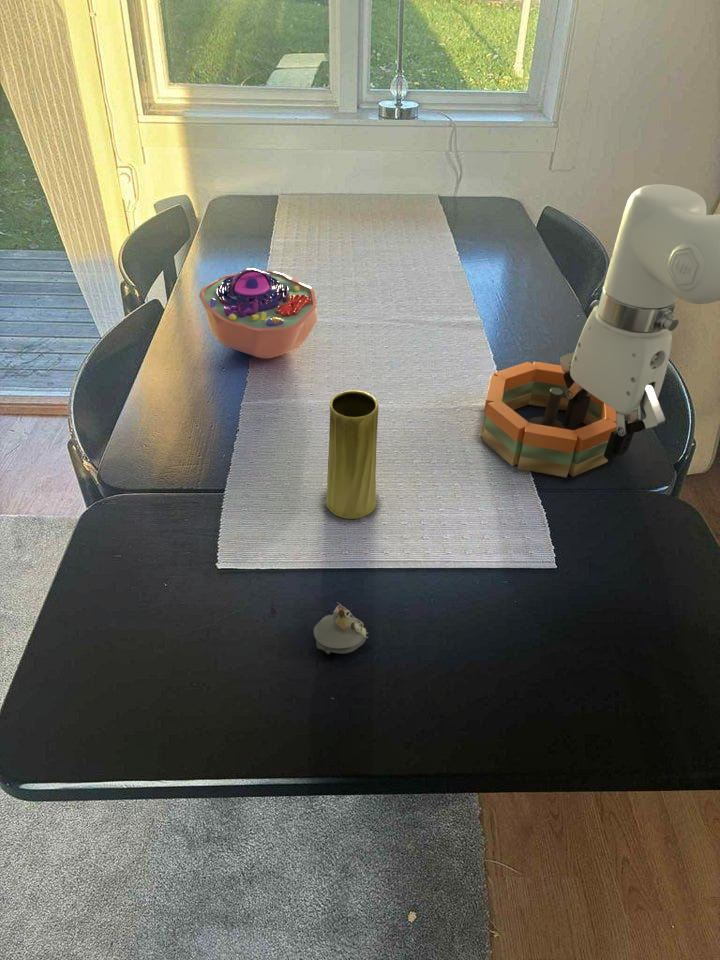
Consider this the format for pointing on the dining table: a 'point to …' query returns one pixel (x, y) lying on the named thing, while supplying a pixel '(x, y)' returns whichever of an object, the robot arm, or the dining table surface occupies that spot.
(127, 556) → the dining table surface
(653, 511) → the dining table surface
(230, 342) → the cell model
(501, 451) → the ring stack
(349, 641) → the figurine
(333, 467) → the vase
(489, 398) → the orange ring
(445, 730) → the dining table surface
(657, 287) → the robot arm
